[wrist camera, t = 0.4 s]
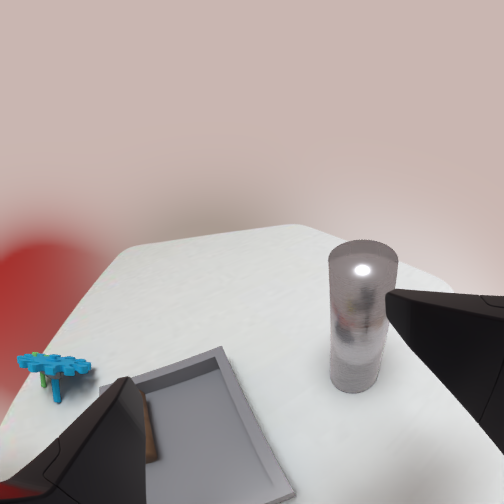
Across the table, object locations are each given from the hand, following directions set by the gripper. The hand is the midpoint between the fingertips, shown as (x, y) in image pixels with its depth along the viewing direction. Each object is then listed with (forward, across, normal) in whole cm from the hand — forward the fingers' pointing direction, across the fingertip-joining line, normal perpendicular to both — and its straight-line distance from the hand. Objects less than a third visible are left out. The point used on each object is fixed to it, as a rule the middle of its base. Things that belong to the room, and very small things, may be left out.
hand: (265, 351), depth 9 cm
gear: (+20, +24, +12) cm, 34 cm away
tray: (+9, +9, +15) cm, 19 cm away
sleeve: (+11, -8, +14) cm, 20 cm away
